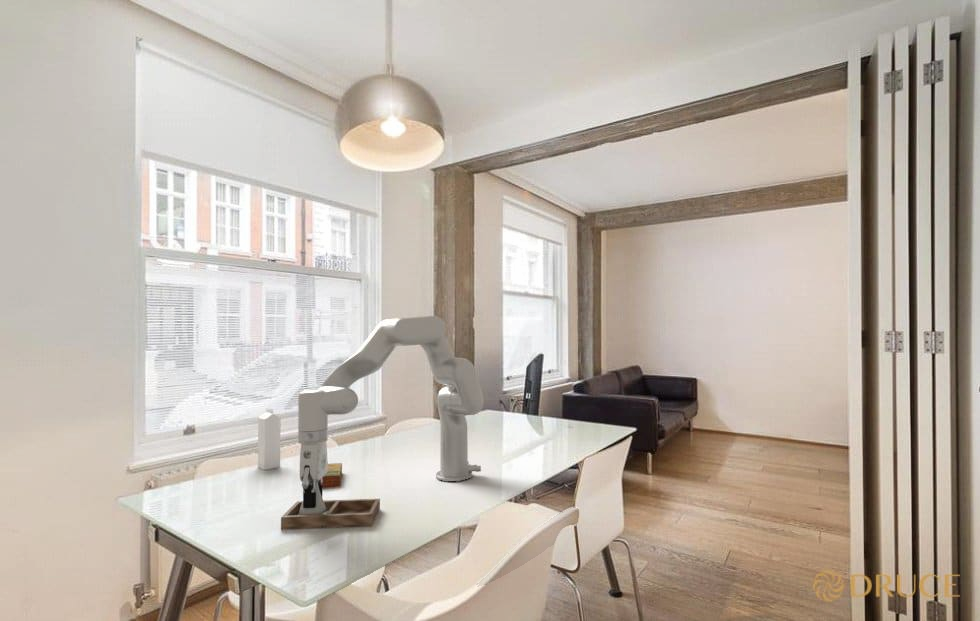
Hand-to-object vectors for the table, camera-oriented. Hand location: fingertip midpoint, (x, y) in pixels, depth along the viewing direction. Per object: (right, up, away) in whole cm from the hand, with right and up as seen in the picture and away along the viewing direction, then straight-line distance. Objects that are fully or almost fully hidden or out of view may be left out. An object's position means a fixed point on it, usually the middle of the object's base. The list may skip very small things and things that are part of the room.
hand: (313, 503), depth 129 cm
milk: (-37, -8, +54) cm, 65 cm away
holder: (+5, -4, 0) cm, 7 cm away
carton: (-8, -7, +35) cm, 37 cm away
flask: (0, -3, 0) cm, 3 cm away
